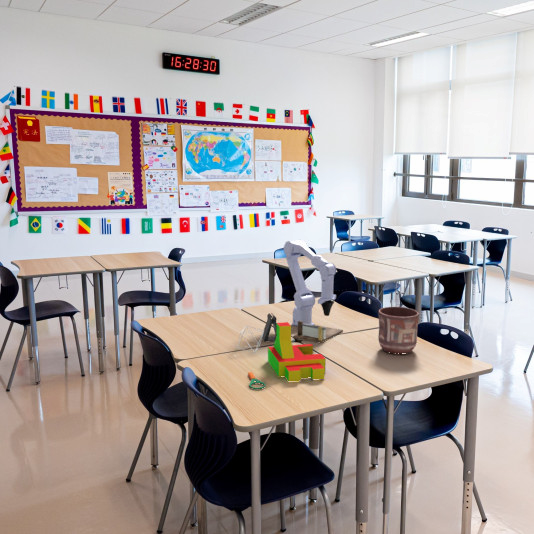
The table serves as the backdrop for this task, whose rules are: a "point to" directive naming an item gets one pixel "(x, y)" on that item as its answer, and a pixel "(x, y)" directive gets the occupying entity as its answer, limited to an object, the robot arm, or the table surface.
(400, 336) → the pottery
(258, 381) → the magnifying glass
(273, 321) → the phone stand
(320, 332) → the post
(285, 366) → the building blocks toy
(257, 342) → the geometric polyhedron
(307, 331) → the panel
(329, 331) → the brown wooden board
